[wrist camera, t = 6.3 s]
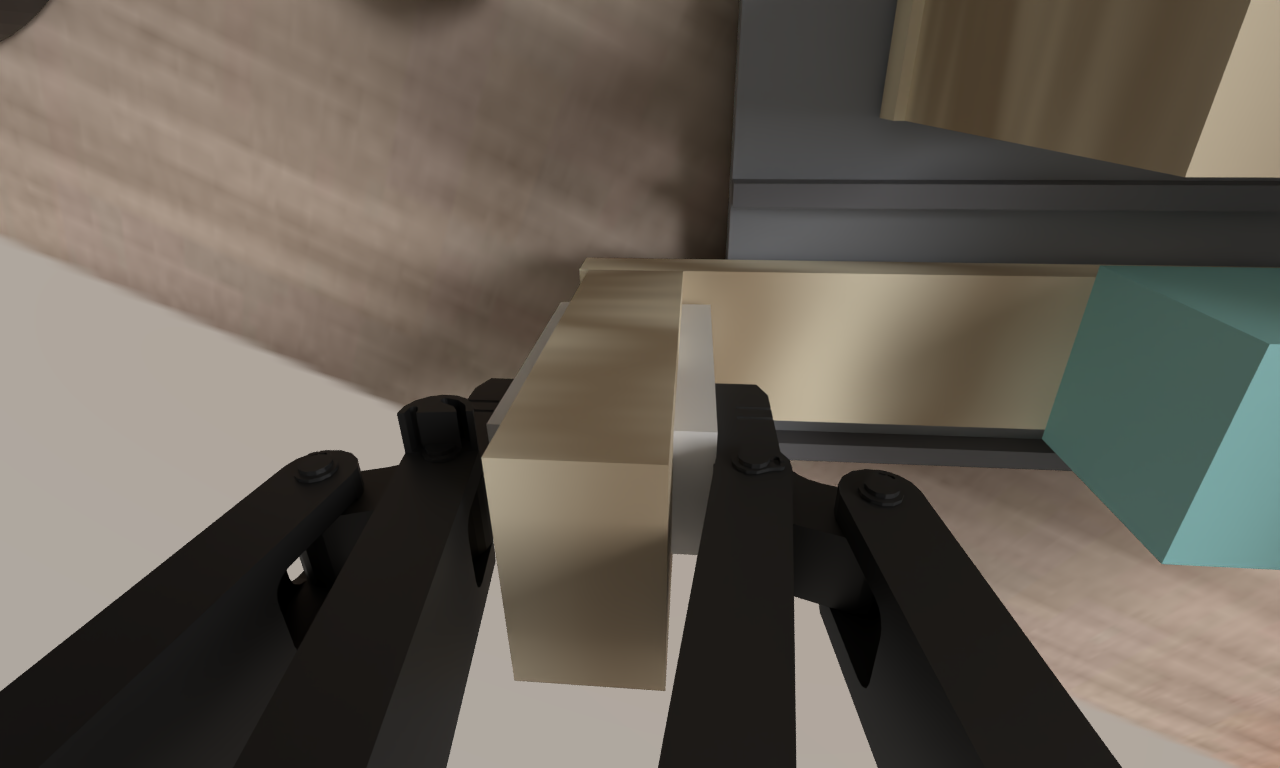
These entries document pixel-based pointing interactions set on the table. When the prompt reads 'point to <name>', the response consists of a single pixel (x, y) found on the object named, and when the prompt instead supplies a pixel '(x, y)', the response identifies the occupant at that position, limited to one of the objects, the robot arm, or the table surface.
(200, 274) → the table surface
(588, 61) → the table surface
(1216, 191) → the lane board
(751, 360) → the wooden l-shaped bracket
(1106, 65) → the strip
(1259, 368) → the block
